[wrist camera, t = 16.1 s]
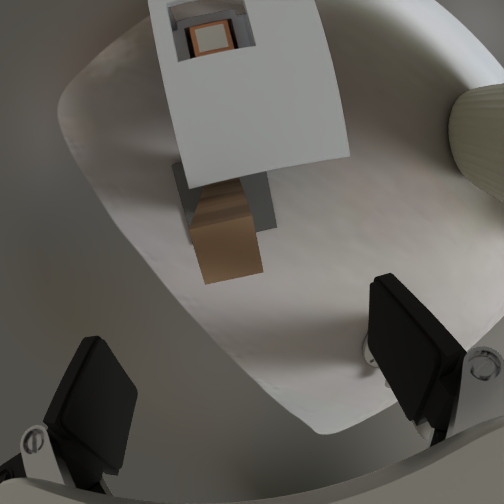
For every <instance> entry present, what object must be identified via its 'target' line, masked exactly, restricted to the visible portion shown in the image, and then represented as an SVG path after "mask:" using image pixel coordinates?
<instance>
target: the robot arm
mask: <svg viewBox="0 0 504 504" xmlns="http://www.w3.org/2000/svg"><path fill="white" fill-rule="evenodd" d="M363 355H364V358H365V359H366V361H367V363H368V364H370V365H371V366H374V367H379V368H380V370H381V371H382V373H383V375H384V377H385V378H386V381H385V386H386V387H388V388H391V389H392V391H393V393H394V395H395V396H396V398H397V400H398V402H399V404H400V406H401V407H402V409H403V411H404V413H405V415H406V417H407V418H408V420H409V421H412V423H413V425H414V427H415V429H416V430H417V432H418V434H419V435H420V436H421V437H422V438H423V439H424V440H426V441H428V445H427V448H426V450H424V451H422V452H420V453H418V454H415V455H413V456H411V457H409V458H407V459H404V460H402V461H400V462H398V463H395V464H393V465H390V466H388V467H385V468H383V469H380V470H377V471H375V472H372V473H369V474H367V475H364V476H361V477H358V478H355V479H352V480H349V481H346V482H342V483H339V484H336V485H332V486H328V487H325V488H320V489H317V490H312V491H308V492H303V493H299V494H294V495H289V496H282V497H277V498H270V499H263V500H255V501H246V502H233V503H214V504H504V360H503V358H502V356H501V355H500V354H499V353H498V352H497V351H496V350H494V349H492V348H489V347H485V346H483V347H476V348H473V349H471V350H470V351H469V352H468V353H467V352H466V351H465V350H464V349H463V347H462V346H461V345H460V344H459V343H458V342H457V340H456V339H455V338H454V337H453V336H452V335H451V334H450V333H449V331H448V330H447V329H446V328H445V327H444V326H443V325H442V324H441V323H440V322H439V321H438V319H437V318H436V317H435V316H434V315H433V314H432V313H431V312H430V311H429V310H428V309H427V308H426V307H425V306H424V305H423V304H422V303H421V302H420V301H419V300H418V299H417V298H416V297H415V296H414V295H413V294H412V293H411V292H410V291H409V290H408V289H407V288H406V287H405V286H404V285H403V284H402V283H401V282H400V281H399V280H398V279H397V278H396V277H395V276H394V275H393V274H392V273H388V274H384V275H381V276H377V277H375V278H374V282H372V283H371V284H370V298H369V324H368V335H367V337H366V339H365V341H364V344H363ZM137 395H138V393H137V389H136V387H135V385H134V384H133V382H132V381H131V380H130V378H129V377H128V375H127V374H126V372H125V371H124V369H123V368H122V366H121V365H120V363H119V362H118V360H117V359H116V357H115V356H114V354H113V353H112V351H111V349H110V348H109V346H108V345H107V343H106V342H105V340H103V339H101V338H100V337H99V336H91V337H85V338H84V339H83V340H82V342H81V344H80V345H79V347H78V349H77V351H76V353H75V355H74V357H73V359H72V361H71V362H70V364H69V366H68V368H67V370H66V372H65V374H64V376H63V378H62V380H61V382H60V384H59V386H58V389H57V391H56V393H55V395H54V397H53V400H52V402H51V404H50V406H49V408H48V411H47V413H46V415H45V417H44V420H43V422H44V423H45V424H46V425H47V426H48V429H47V430H46V429H45V428H44V427H43V426H40V425H34V426H32V427H30V428H29V429H28V430H26V432H25V433H24V434H23V436H22V438H21V442H20V448H21V453H19V454H18V455H16V456H15V457H13V458H12V459H10V460H9V461H7V462H6V463H4V464H2V465H1V466H0V504H181V503H164V502H151V501H142V500H134V499H127V498H121V497H115V496H113V494H112V493H111V491H110V489H109V488H108V486H107V484H106V482H105V481H104V479H103V477H102V473H103V472H104V473H106V474H110V475H118V472H119V469H120V468H121V467H122V465H123V460H124V455H125V449H126V444H127V440H128V435H129V430H130V426H131V421H132V417H133V412H134V408H135V404H136V400H137ZM182 504H184V503H182Z"/></svg>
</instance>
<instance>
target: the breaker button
mask: <svg viewBox="0 0 504 504" xmlns="http://www.w3.org/2000/svg"><path fill="white" fill-rule="evenodd" d="M189 29H190V33H191V38H192V43H193V47H194V52H195V56H196V57H200V56H204V55H208V54H213V53H218V52H223V51H228V50H233V49H234V46H233V42H232V38H231V34H230V30H229V26H228V22H227V20H223V21H218V22H213V23H208V24H203V25H199V26H194V27H190V28H189Z"/></svg>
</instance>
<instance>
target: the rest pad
mask: <svg viewBox="0 0 504 504" xmlns="http://www.w3.org/2000/svg"><path fill="white" fill-rule="evenodd" d="M172 169H173V172H174V176H175V180H176V183H177V187H178V191H179V194H180V198H181V201H182V205H183V208H184V212H185V215H186V219H187V222H188V225H189V228H190V225H191V222H192V219H193V216H194V213H195V210H196V207H197V205H198V202H199V199H200V196H201V194H202V191H203V188H204V185H203V186H199V187H195V188H192V189H189V186H188V182H187V179H186V175H185V171H184V167H183V163H182V162H181V163H177V164H174V165H172ZM239 179H240V182H241V185H242V187H243V190H244V193H245V196H246V199H247V202H248V205H249V208H250V211H251V213H252V217H253V222H254V227H255V232H259V231H264V230H268V229H272V228H277V225H276V219H275V214H274V209H273V204H272V199H271V193H270V188H269V183H268V178H267V173H266V171H264V172H259V173H254V174H250V175H245V176H241V177H239Z"/></svg>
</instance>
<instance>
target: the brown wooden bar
mask: <svg viewBox="0 0 504 504" xmlns="http://www.w3.org/2000/svg"><path fill="white" fill-rule="evenodd" d="M189 232H190V236H191V239H192V243H193V246H194V249H195V253H196V256H197V259H198V263H199V266H200V269H201V273H202V276H203V279H204V282H205V284H210V283H215V282H220V281H225V280H229V279H234V278H239V277H244V276H248V275H253V274H257V273H262V272H263V267H262V262H261V257H260V252H259V247H258V242H257V237H256V232H255V227H254V222H253V217H252V213H251V211H250V208H249V205H248V202H247V199H246V196H245V193H244V190H243V187H242V185H241V182H240V179H239V177H236V178H232V179H228V180H224V181H219V182H215V183H211V184H207V185H204V188H203V191H202V194H201V196H200V199H199V202H198V205H197V207H196V210H195V213H194V216H193V219H192V222H191V225H190V228H189Z"/></svg>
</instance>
